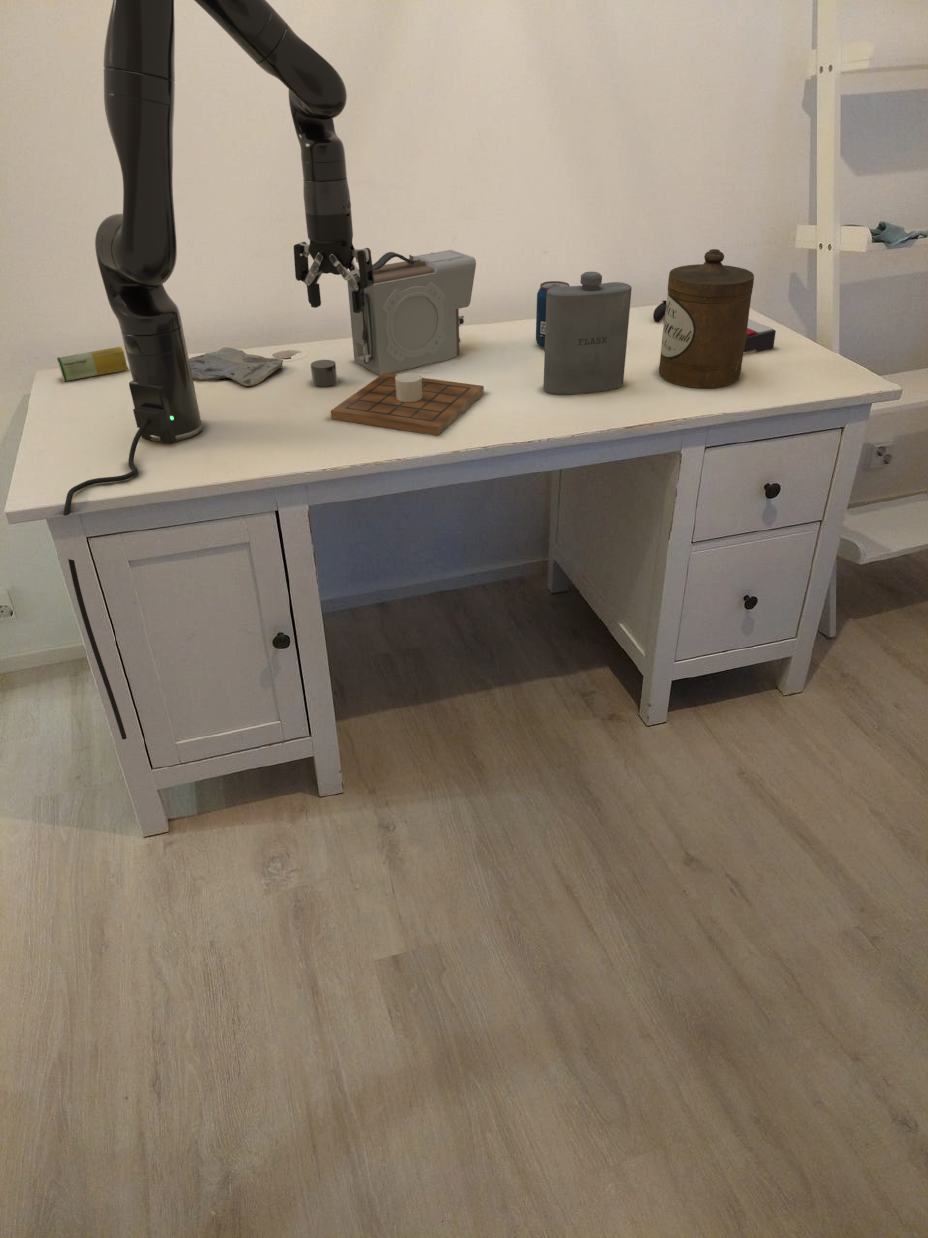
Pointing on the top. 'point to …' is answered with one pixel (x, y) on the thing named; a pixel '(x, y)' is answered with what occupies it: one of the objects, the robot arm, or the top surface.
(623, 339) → the flask
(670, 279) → the wooden container
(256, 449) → the top surface
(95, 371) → the medication box
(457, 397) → the board
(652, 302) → the top surface
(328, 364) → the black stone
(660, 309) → the dark grey oval piece
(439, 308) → the portable television
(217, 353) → the fossil rock
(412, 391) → the ivory stone
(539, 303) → the soda can
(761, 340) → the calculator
